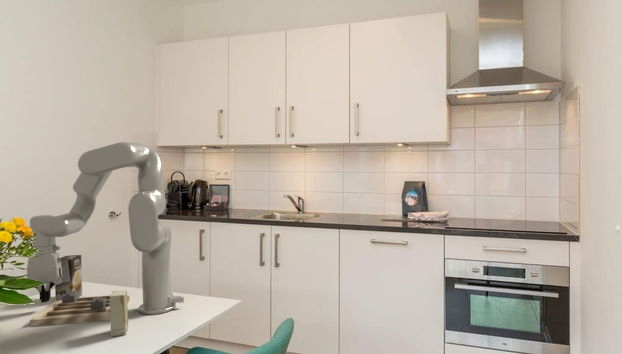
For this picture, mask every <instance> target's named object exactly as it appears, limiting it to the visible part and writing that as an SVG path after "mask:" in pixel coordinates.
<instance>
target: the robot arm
mask: <svg viewBox="0 0 622 354" xmlns="http://www.w3.org/2000/svg"><path fill="white" fill-rule="evenodd" d="M77 167H78V169H79V171H80V174H79V175H78V177H77V178H76V180H75V182H74V183H73V185H72V190H73V191H74V192H75V193H76V199H75V202H74V204H73V206H72V207H71V209H70V211H69V212H68V213H64V214H60V215H56V216H54V215H51V214H49V215H48V214H44V215H33V216H32V217H31V218H30V219H29V229H30V228H31V229H32V231H33V234H34V233H37V234H36V236H35V239H36V241H35V242H32V244H33V247H34V248H37V247H38V251H43V250H44V252H42V253H36V254H35V256H39V257H38V258H31V257H29V256H28V259H27V267H26V279H27V278H28V279H32V280H37V281H42V282H44V285H42V286H38V287H34V288H35V289H37V291H38V292H39V300H40V303H41V304H42V303H47V302H49V301H50V300H51V297H52V293H51V292H52V291H51V289H52V288H54V287H55V285H58V284H60V283H62V281H61V278H62V267H61V260H60V258H61V256H60V254H59V252H58V251H60V249H61V246H59V245H57V244H56V238H63V237H66V236H69V235H72V234H75V233H78V232H80V231H82V229H83V228H84V227H85V226H86V225H87V223H88V222H89V220H90V218H91V217H92V214H94V211H95V207H96V204H97V197H98V196H99V194H100V192H101V191H102V188H103V187H104V185H105V184H106V182H107V181H108V179H109V177H110V176H111V174H112V172H113V171H115V170H120V169H124V168H137V170H138V174H137V185H138V192H137V193H135V194H134V195H133V196H132V197H131V198H130V200H129V203H128V208H127V209H128V210H127V211H128V212H127V213H128V222H129V235H130V240H131V244H132V246H133V247H134V249H136V251H138V252H141V277H142V278H141V279H142V304H140V305H139V306H138V307H137V308H138V312H139V313H141V314H144V315H158V314H163V313H167V312H170V311H172V310H174V309H175V308H176V306H177V304H178V303H179V304H180V303H185V297H184V296H182V295H177V296H175V295H174V293H173V292H172V283H171V282H172V280H171V279H172V278H171V246H172V230H171V227H170V225H169V224H167V222H165V221H163V220H161V219H159V216H160V215H161V214H163V212H165V209H166V206H167V205H166V204H167V203H166V202H167V201H166V194H165V183H164V175H163V174H164V173H163V172H164V171H163V164H162V160H161V158H160V156H159V154H158V153H157V151H156V150H154V149H153V148H151V147H149V146H147V145H145V144H143V143H138V142H129V141H127V142H125V141H120V142H115V143H112V144H108V145H105V146H103V147H102V146H101V147H98V148H94V149H90V150H88V151H85V152H84V153H83V154H81V156H80V157H79V158H78V161H77ZM46 283H47V284H46Z"/></svg>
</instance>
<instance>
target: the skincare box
mask: <svg viewBox="0 0 622 354" xmlns="http://www.w3.org/2000/svg"><path fill="white" fill-rule="evenodd" d="M109 296H110V320H109V321H110V337H114V336H115V337H116V336H125V335H126V334H127V332H128V329H129V312H128V303H127V296H128V290H127V289H126V290H125V289H123V290H115V291H114V290H113V291H111V293H110V295H109Z"/></svg>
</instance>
